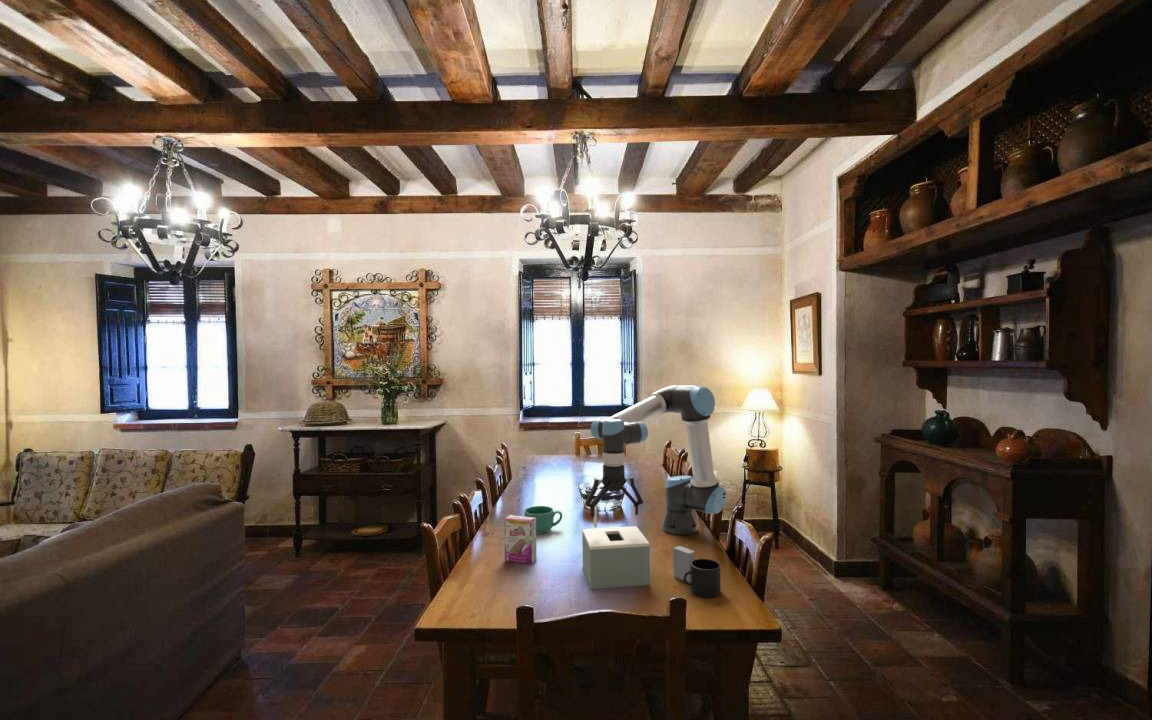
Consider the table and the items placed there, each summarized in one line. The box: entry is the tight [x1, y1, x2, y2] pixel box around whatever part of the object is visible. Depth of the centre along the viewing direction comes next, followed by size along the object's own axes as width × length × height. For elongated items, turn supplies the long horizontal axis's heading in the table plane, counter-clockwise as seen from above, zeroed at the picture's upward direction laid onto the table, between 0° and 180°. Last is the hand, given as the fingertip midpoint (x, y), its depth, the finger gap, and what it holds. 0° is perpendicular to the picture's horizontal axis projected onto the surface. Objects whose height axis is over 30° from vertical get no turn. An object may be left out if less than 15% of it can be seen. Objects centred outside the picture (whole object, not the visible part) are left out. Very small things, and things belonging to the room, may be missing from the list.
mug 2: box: [683, 558, 722, 599], centre depth 175 cm, size 9×12×9 cm
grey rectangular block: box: [672, 545, 696, 583], centre depth 186 cm, size 3×7×10 cm, turn 38°
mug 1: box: [523, 505, 563, 535], centre depth 238 cm, size 17×13×10 cm
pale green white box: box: [581, 525, 651, 590], centre depth 189 cm, size 20×18×14 cm
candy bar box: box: [504, 514, 537, 566], centre depth 203 cm, size 11×5×16 cm, turn 71°
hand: (614, 525), depth 189 cm, fingers open, 13 cm apart
